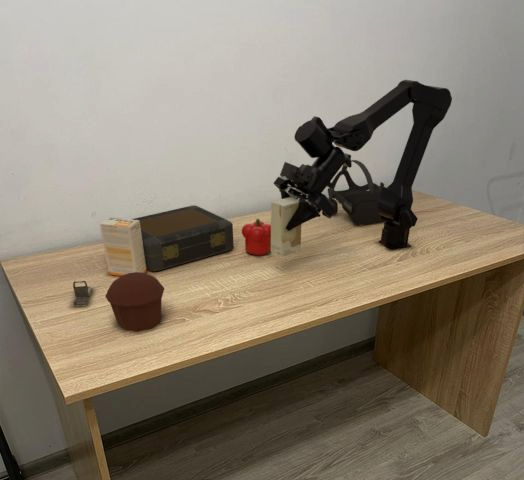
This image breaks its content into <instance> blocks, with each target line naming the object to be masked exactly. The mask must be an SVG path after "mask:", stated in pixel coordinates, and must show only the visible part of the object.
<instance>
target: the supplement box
mask: <svg viewBox="0 0 524 480" xmlns="http://www.w3.org/2000/svg"><path fill="white" fill-rule="evenodd" d="M131 219H132V218H131ZM131 219H129V218H122V217H121V218H120V217H112V216H110V217H108V218H106V219H104V220H103V221H101V222H100V223H99V227H100V232H101V239H102V243H103V248H104V255H105V259H106V265H107V269H108V274H109V275H111V276H117V277H121V276H123V275H125V274H128V273H134V272H141V273H145V274H146V272H148V271H147V270H148V269H147V268H146V262H145V255H144V248H143V242H142V235H141V228H140V221H139V220H131Z"/></svg>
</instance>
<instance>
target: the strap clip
mask: <svg viewBox="0 0 524 480" xmlns="http://www.w3.org/2000/svg"><path fill="white" fill-rule="evenodd" d="M81 283H83V284H84V285H80V286H76V284H81ZM72 288H73V292H74V296H75V299H74V300H73V307H84V306H85V307H86V306H87V305H88V304H89V297H90V296H91V294H92V287H91V286H88V283H87V280H76V281H75V280H74V281H73V283H72Z"/></svg>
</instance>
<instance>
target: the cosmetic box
mask: <svg viewBox="0 0 524 480" xmlns="http://www.w3.org/2000/svg"><path fill="white" fill-rule="evenodd" d="M298 205H299V198H298V199H295V198H292V197H289V198H285V199H281V198H279V199H278V200H274V201H273V200H272V201H271V202H270V225H271V250H270V252H271V253H272V254H275V255H277V256H279V257H282V258H283V257H286V256H290V255H292V254H295V253H298V252H300V251H301V249H302V248H301V247H302V224H301V225H299V226H297V227H295V228H293V229H291V230H290V231H288V230H287V229H286V226H287V224H288V222H289V221H290V219H291V218H292V216H293V215H294V213H295V211H296V210H297V208H298Z"/></svg>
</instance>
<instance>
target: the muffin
mask: <svg viewBox="0 0 524 480" xmlns="http://www.w3.org/2000/svg"><path fill="white" fill-rule="evenodd" d="M164 292H165V287H164V286H163V284H162V283H161V282H160V280H158V278H157V277H155V276H154V275H152V274H148V273H146V272H145V273H141V272H134V273H128V274H125V275H123V276H118V278H116V279H115V280H113V281H112V283H111V284H110V286H109V287H108V289H107V292H106V294H105V295H104V297H105V299H106V300H107V302H108V303H109V304H110V308H111V310H112V312H113V314H114V317H115V320H116V324H117V325H118V326H119V327H121V328H122V329H123V330H124V331H132V332H136V333H137V332H142V331H145V330H152V329H153V328H154V327H155V326H158V325H159V324H161V318H162V299H163V296H164Z"/></svg>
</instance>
